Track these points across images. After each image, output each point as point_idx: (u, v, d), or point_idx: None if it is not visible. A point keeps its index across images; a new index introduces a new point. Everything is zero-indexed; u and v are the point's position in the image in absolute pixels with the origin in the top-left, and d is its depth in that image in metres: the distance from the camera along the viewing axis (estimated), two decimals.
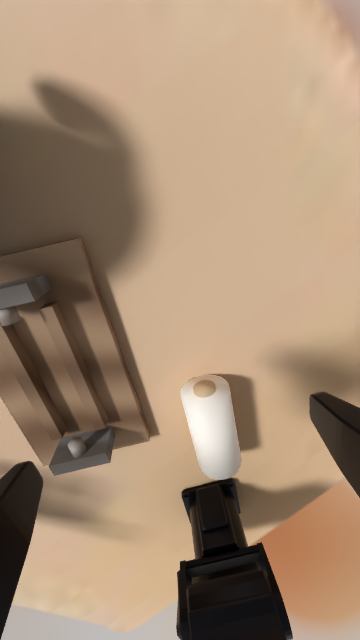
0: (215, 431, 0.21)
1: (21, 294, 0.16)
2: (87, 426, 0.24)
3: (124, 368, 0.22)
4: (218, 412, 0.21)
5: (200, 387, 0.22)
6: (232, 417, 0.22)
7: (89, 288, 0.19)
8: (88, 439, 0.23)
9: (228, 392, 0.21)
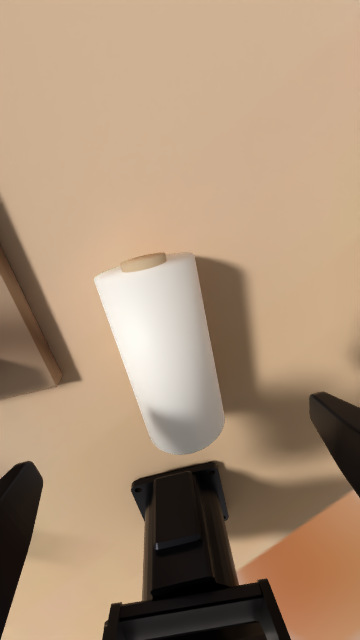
0: (162, 342, 0.10)
1: None
2: None
3: None
4: (165, 293, 0.09)
5: (135, 260, 0.11)
6: (201, 321, 0.11)
7: None
8: None
9: (190, 260, 0.10)
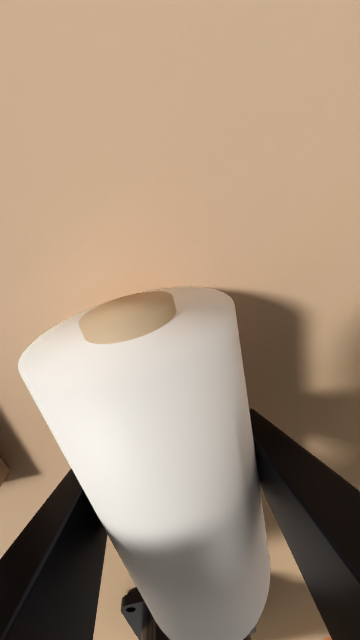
0: (165, 506, 0.04)
1: None
2: None
3: None
4: (173, 413, 0.04)
5: (112, 310, 0.05)
6: (246, 435, 0.05)
7: None
8: None
9: (229, 318, 0.04)
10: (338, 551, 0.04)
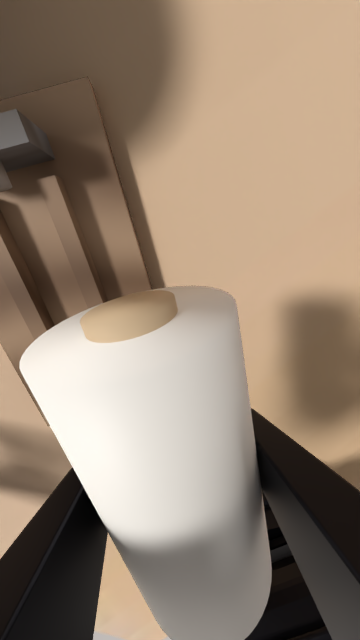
0: (167, 505, 0.04)
1: (9, 129, 0.11)
2: None
3: (150, 286, 0.17)
4: (175, 412, 0.04)
5: (113, 309, 0.05)
6: (248, 435, 0.05)
7: (105, 159, 0.14)
8: None
9: None
10: (338, 551, 0.04)
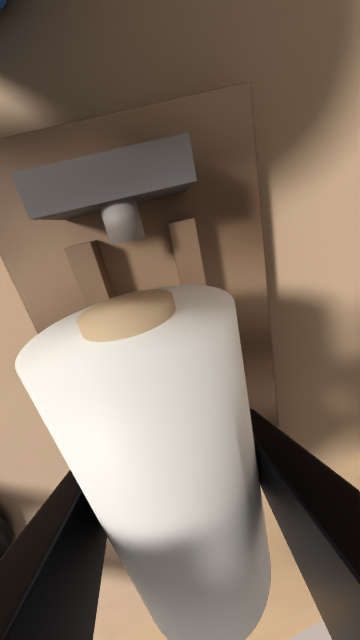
0: (164, 507, 0.04)
1: (172, 162, 0.07)
2: None
3: None
4: (172, 412, 0.04)
5: (111, 308, 0.05)
6: (247, 435, 0.05)
7: (250, 193, 0.10)
8: None
9: (230, 316, 0.04)
10: (338, 551, 0.04)
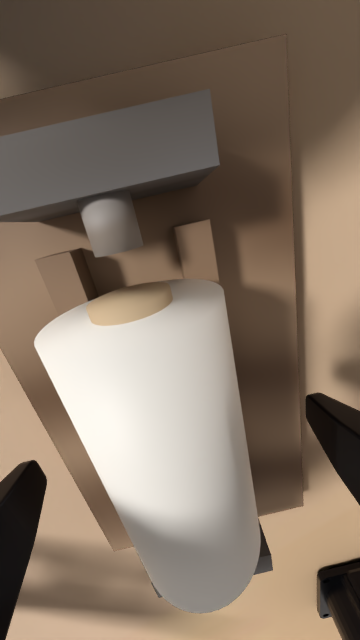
0: (160, 467, 0.05)
1: (184, 135, 0.05)
2: None
3: None
4: (166, 382, 0.04)
5: (116, 297, 0.06)
6: (235, 411, 0.06)
7: (280, 187, 0.08)
8: None
9: None
10: None
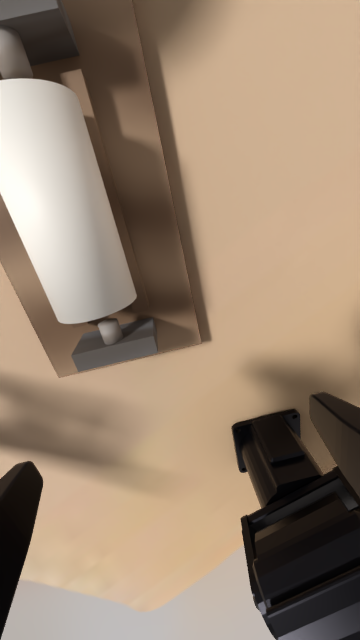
0: (30, 172, 0.09)
1: None
2: (120, 316, 0.17)
3: None
4: (24, 109, 0.09)
5: None
6: (85, 167, 0.10)
7: (136, 59, 0.12)
8: (123, 329, 0.17)
9: (62, 87, 0.09)
10: None
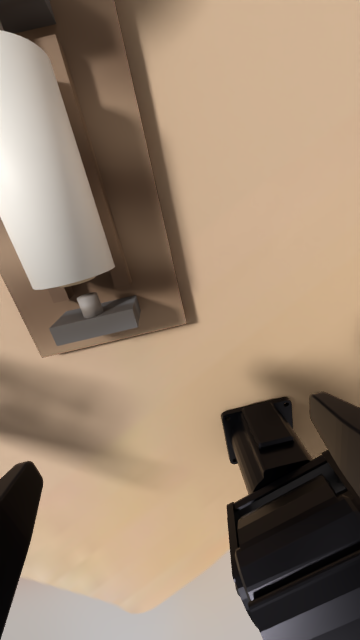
0: None
1: None
2: (103, 293, 0.17)
3: (157, 196, 0.16)
4: None
5: None
6: (55, 125, 0.10)
7: (112, 28, 0.12)
8: (105, 306, 0.16)
9: (30, 43, 0.10)
10: None
